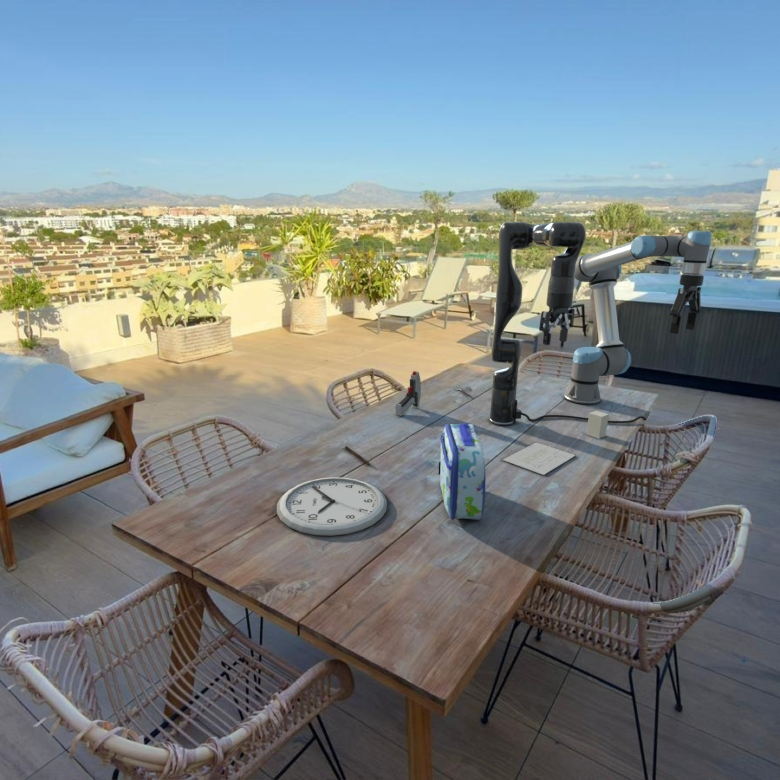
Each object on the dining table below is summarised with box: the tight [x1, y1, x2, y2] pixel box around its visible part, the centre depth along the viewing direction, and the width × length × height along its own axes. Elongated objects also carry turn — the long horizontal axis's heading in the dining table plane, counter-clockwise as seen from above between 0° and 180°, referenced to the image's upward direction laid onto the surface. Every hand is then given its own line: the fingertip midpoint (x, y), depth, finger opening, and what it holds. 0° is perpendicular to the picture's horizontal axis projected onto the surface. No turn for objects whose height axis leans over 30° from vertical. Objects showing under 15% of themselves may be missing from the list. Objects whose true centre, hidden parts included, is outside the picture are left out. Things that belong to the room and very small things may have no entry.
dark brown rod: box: [344, 445, 370, 465], centre depth 173 cm, size 15×1×1 cm, turn 34°
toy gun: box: [395, 370, 422, 417], centre depth 214 cm, size 2×16×15 cm
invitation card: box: [502, 442, 577, 476], centre depth 174 cm, size 21×1×15 cm
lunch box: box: [438, 422, 486, 521], centre depth 142 cm, size 26×11×21 cm, turn 179°
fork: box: [453, 383, 470, 397], centre depth 242 cm, size 3×16×2 cm, turn 16°
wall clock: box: [276, 476, 388, 537], centre depth 142 cm, size 30×2×30 cm
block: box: [585, 410, 610, 440], centre depth 194 cm, size 4×5×9 cm
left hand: (554, 343), depth 164 cm, fingers open, 8 cm apart
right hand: (682, 331), depth 199 cm, fingers open, 13 cm apart
